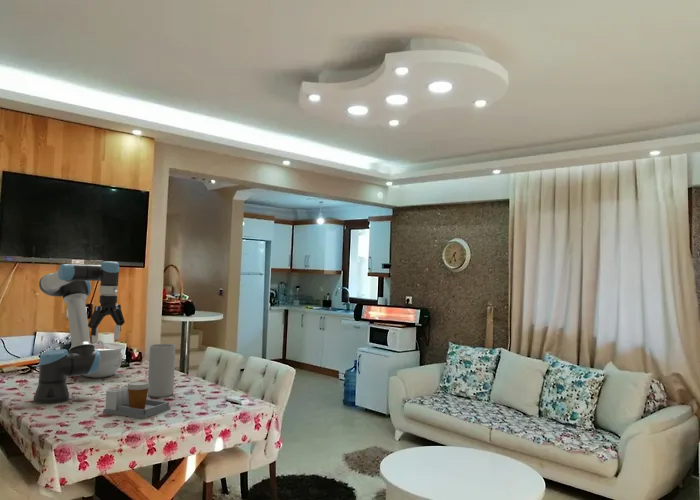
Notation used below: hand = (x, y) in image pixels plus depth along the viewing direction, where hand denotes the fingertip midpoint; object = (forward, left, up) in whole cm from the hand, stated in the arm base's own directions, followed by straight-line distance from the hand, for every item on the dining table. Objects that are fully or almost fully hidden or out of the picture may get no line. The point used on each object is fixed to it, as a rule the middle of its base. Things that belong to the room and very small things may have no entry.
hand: (105, 340), depth 251 cm
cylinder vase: (+6, +32, -31) cm, 45 cm away
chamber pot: (-56, +53, -31) cm, 83 cm away
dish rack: (+18, +2, -31) cm, 36 cm away
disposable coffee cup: (+21, -1, -29) cm, 36 cm away
